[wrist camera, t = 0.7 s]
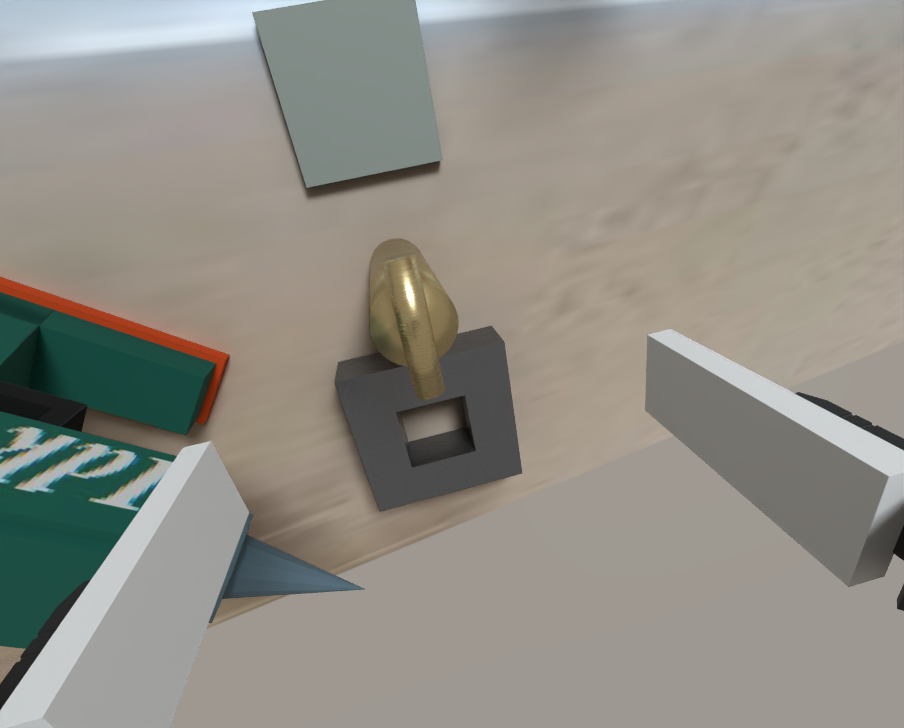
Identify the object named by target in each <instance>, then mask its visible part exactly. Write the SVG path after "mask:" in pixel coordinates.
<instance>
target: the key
mask: <svg viewBox="0 0 904 728" xmlns="http://www.w3.org/2000/svg"><path fill="white" fill-rule="evenodd" d="M369 329H370V335H371V338H372V341H373V343H374V345H375V347H376V348H377V350H378V351H379V352H380V353H381V354H382V355H383V356H384V357H385V358H387V359H388V360H390V361H391V362H394V363H396V364H399V365H402V366H408V369H409V373H410V377H411V381H412V385H413V389H414V393H415V396H416V397H417V398H418V399H422V400H428V399H433V398H436V397H438V396H440V395H442V394H443V393H444V391H445V385H444V380H443V376H442V371H441V367H440V362H439V358H441V357H442V356H443V355H444V354H445V353H446V352H447V351H448V350H449V349H450V348H451V346H452V344H453V343H454V341H455V338H456V335H457V331H458V316H457V312H456V309H455V306H454V305H453V303H452V301H451V300H450V298H449V296H448V295H447V293H446V292H445V290H444V288H443V287H442V285H441V284H440V282H439V281H438V279H437V277H436V276H435V274H434V273H433V271H432V270H431V268H430V266H429V265H428V263H427V262H426V260H425V259H424V257H423V255H422V254H421V252H420V251H419V249H418V248H417V247H416V246H415V245H414V244H412V243H411V242H409V241H407V240H404V239H390V240H387V241H385V242H383V243H381V244H380V245H379V246H378V247H377V248H376V249H375V251H374V252H373V254H372V257H371V261H370V309H369Z"/></svg>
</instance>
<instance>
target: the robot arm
mask: <svg viewBox="0 0 904 728" xmlns="http://www.w3.org/2000/svg"><path fill="white" fill-rule="evenodd" d="M645 410H646V411H647V412H648V413H649V414H650V415H651V416H652V417H654V418H655V419H656V420H657V421H658V422H659V423H660V424H662V425H663V426H664V427H665V428H666V429H667V430H669V431H670V432H671V433H672V434H673V435H674V436H675V437H677V438H678V439H679V440H680V441H681V442H682V443H684V444H685V445H686V446H687V447H688V448H689V449H691V450H692V451H693V452H694V453H695V454H696V455H697V456H698V457H700V458H701V459H702V460H703V461H704V462H705V463H706V464H708V465H709V466H710V467H711V468H712V469H713V470H715V471H716V472H717V473H718V474H719V475H720V476H721V477H723V478H724V479H725V480H726V481H727V482H728V483H729V484H731V485H732V486H733V487H734V488H735V489H736V490H738V491H739V492H740V493H741V494H742V495H743V496H744V497H746V498H747V499H748V500H749V501H750V502H751V503H753V504H754V505H755V506H756V507H757V508H758V509H759V510H761V511H762V512H763V513H764V514H765V515H766V516H768V517H769V518H770V519H771V520H772V521H773V522H774V523H776V524H777V525H778V526H779V527H780V528H782V530H784V531H785V532H786V533H787V534H788V535H790V536H791V537H792V538H793V539H794V540H795V541H796V542H797V543H799V544H800V545H801V546H802V547H803V548H804V549H805V550H807V551H808V552H809V553H810V554H811V555H812V556H813V557H815V558H816V559H817V560H818V561H819V562H820V563H822V564H823V565H824V566H825V567H826V568H827V569H828V570H830V571H831V572H832V573H833V574H834V575H835V576H837V577H838V578H839V579H840V580H841V581H842V582H843V583H845V584H846V585H847V586H848V587H850V586H854V585H857V584H860V583H864V582H867V581H870V580H874V579H877V578H880V577H883V576H885V573H886V571H887V569H888V566H889V564H890V562H891V559H892V557H893V554H896V555H897V556H898V557H899V558H901V559H902V560H904V439H903V438H901V437H899V436H897V435H895V434H893V433H891V432H889V431H887V430H885V429H883V428H881V427H879V426H873V425H872V423H871V422H869V421H867V420H865V419H863V418H861V417H859V416H857V415H855V416H853V415H852V413H851V412H849V411H847V410H845V409H843V408H841V407H839V406H837V405H835V404H833V403H831V402H829V401H827V400H824V399H820V398H817V397H813V396H810V395H806V394H803V393H800V392H798V393H792V392H790V391H789V390H787V389H785V388H783V387H781V386H779V385H777V384H775V383H773V382H771V381H769V380H767V379H766V378H764V377H762V376H760V375H758V374H756V373H754V372H752V371H750V370H748V369H746V368H744V367H743V366H741V365H739V364H737V363H735V362H733V361H731V360H729V359H727V358H725V357H723V356H721V355H720V354H718V353H716V352H714V351H712V350H710V349H708V348H706V347H704V346H702V345H700V344H698V343H696V342H695V341H693V340H691V339H689V338H687V337H685V336H683V335H681V334H679V333H677V332H675V331H673V330H672V329H669V330H665V331H661V332H657V333H653V334H649V335H647V366H646V400H645ZM248 514H249V511H248V509H247V507H246V505H245V504H244V502H243V500H242V498H241V496H240V494H239V492H238V491H237V489H236V487H235V485H234V483H233V481H232V479H231V477H230V476H229V474H228V472H227V470H226V468H225V466H224V464H223V463H222V461H221V459H220V457H219V455H218V453H217V451H216V449H215V448H214V446H213V444H212V442H211V441H209V442H205V443H201V444H196V445H192V446H188V447H184V448H183V449H182V450H181V452H180V453H179V454H178V456H177V457H176V459H175V460H174V462H173V463H172V464H171V466H170V467H169V469H168V470H167V472H166V473H165V475H164V476H163V477H162V479H161V480H160V482H159V483H158V485H157V486H156V487H155V489H154V490H153V492H152V493H151V495H150V496H149V498H148V499H147V500H146V502H145V503H144V505H143V506H142V508H141V509H140V510H139V512H138V513H137V515H136V516H135V518H134V519H133V520H132V522H131V523H130V525H129V526H128V528H127V529H126V531H125V532H124V533H123V535H122V536H121V538H120V539H119V541H118V542H117V543H116V545H115V546H114V548H113V549H112V551H111V552H110V553H109V555H108V556H107V558H106V559H105V561H104V562H103V564H102V565H101V566H100V568H99V569H98V571H97V572H96V574H95V575H94V576H93V578H92V579H91V580H87V581H84V582H83V583H81V584H80V585H79V586H78V587H77V588H76V589H75V590H74V591H73V592H72V593H71V594H70V595H69V596H68V597H67V598H66V599H65V600H64V601H63V602H61V603H60V604H59V605H58V606H57V607H56V609H55V610H54V612H53V613H52V614H51V616H50V617H49V618H48V620H47V621H46V622H45V624H44V625H43V627H42V628H41V629H40V631H39V632H38V633H37V634H38V637H37V638H36V639H33V640H32V642H31V643H30V644H29V646H28V647H27V648H26V650H25V651H24V652H23V654H22V655H21V660H20V662H17V663H15V665H14V666H13V667H12V669H11V670H10V672H9V673H8V674H7V676H6V677H5V678H4V680H3V681H2V683H1V684H0V728H170V726H171V723H172V721H173V718H174V715H175V712H176V710H177V707H178V704H179V702H180V698H181V696H182V694H183V691H184V688H185V685H186V682H187V680H188V677H189V675H190V672H191V669H192V666H193V664H194V661H195V658H196V655H197V653H198V650H199V647H200V645H201V642H202V639H203V636H204V633H205V631H206V628H207V626H208V623H209V620H210V617H211V615H212V612H213V609H214V607H215V604H216V601H217V598H218V596H219V593H220V590H221V588H222V585H223V582H224V579H225V577H226V574H227V571H228V569H229V566H230V563H231V560H232V558H233V555H234V552H235V550H236V547H237V544H238V541H239V539H240V536H241V533H242V531H243V528H244V525H245V522H246V520H247V517H248ZM897 609H900V610H903V611H904V585H903V587H902V589H901V591H900V594H899V596H898V598H897Z"/></svg>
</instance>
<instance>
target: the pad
mask: <svg viewBox="0 0 904 728" xmlns="http://www.w3.org/2000/svg"><path fill="white" fill-rule="evenodd" d="M252 13H253V17H254V20H255V23H256V26H257V29H258V33H259V36H260V39H261V42H262V46H263V49H264V52H265V55H266V59H267V62H268V65H269V68H270V71H271V75H272V78H273V81H274V84H275V88H276V91H277V94H278V97H279V100H280V104H281V107H282V110H283V113H284V117H285V120H286V123H287V126H288V130H289V133H290V136H291V139H292V142H293V146H294V149H295V152H296V155H297V159H298V162H299V165H300V168H301V171H302V175H303V178H304V181H305V184H306V188H308V187H313V186H318V185H323V184H328V183H333V182H338V181H343V180H348V179H352V178H357V177H362V176H367V175H372V174H377V173H382V172H387V171H392V170H397V169H402V168H407V167H412V166H417V165H422V164H427V163H432V162H436V161H441V160H443V159H442V153H441V148H440V142H439V136H438V130H437V124H436V118H435V113H434V107H433V101H432V95H431V89H430V84H429V78H428V72H427V66H426V60H425V55H424V49H423V43H422V37H421V31H420V25H419V20H418V14H417V8H416V2H415V0H324V1H318V2H312V3H306V4H300V5H294V6H288V7H282V8H276V9H270V10H264V11H258V12H252Z"/></svg>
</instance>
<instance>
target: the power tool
mask: <svg viewBox="0 0 904 728" xmlns="http://www.w3.org/2000/svg"><path fill="white" fill-rule="evenodd" d="M228 358H229V355H228V354H225V353H223V352H220V351H217V350H214V349H211V348H208V347H205V346H202V345H199V344H196V343H193V342H190V341H187V340H184V339H181V338H178V337H175V336H173V335H170V334H167V333H164V332H161V331H158V330H155V329H152V328H149V327H146V326H143V325H140V324H137V323H134V322H131V321H128V320H126V319H123V318H120V317H117V316H114V315H111V314H108V313H105V312H102V311H99V310H96V309H93V308H90V307H87V306H84V305H81V304H78V303H76V302H73V301H70V300H67V299H64V298H61V297H58V296H55V295H52V294H49V293H46V292H43V291H40V290H37V289H34V288H31V287H29V286H26V285H23V284H20V283H17V282H14V281H11V280H8V279H5V278H2V277H0V646H6V647H16V648H25V649H26V648H27V647H28V646H29V644H30V643H31V642H32V640H33V639H36V638H37V637H38V634H37V633H38V632H39V631H40V629H41V628H42V627H43V625H44V624H45V622H46V621H47V620H48V618H49V617H50V616H51V614H52V613H53V612H54V610H55V609H56V607H57V606H58V605H59V604H60V603H61V602H63V601H64V600H65V599H66V598H67V597H68V596H69V595H70V594H71V593H72V592H73V591H74V590H75V589H76V588H77V587H78V586H79V585H80V584H81V583H83V582H84V581H87V580H91V579H92V578H93V576H94V575H95V574H96V572H97V571H98V569H99V568H100V566H101V565H102V564H103V562H104V561H105V559H106V558H107V556H108V555H109V553H110V552H111V551H112V549H113V548H114V546H115V545H116V543H117V542H118V541H119V539H120V538H121V536H122V535H123V533H124V532H125V531H126V529H127V528H128V526H129V525H130V523H131V522H132V520H133V519H134V518H135V516H136V515H137V513H138V512H139V510H140V509H141V508H142V506H143V505H144V503H145V502H146V500H147V499H148V498H149V496H150V495H151V493H152V492H153V490H154V489H155V487H156V486H157V485H158V483H159V482H160V480H161V479H162V477H163V476H164V475H165V473H166V472H167V470H168V469H169V467H170V466H171V464H172V463H173V462H174V460H175V459H176V457H177V456H174V455H170V454H166V453H162V452H158V451H154V450H150V449H146V448H142V447H138V446H134V445H131V444H127V443H123V442H119V441H115V440H111V439H107V438H103V437H99V436H95V435H91V434H87V433H83V432H81V431H82V426H83V422H84V418H85V414H86V409H87V408H88V409H91V410H95V411H99V412H103V413H106V414H110V415H114V416H117V417H121V418H125V419H128V420H132V421H136V422H139V423H143V424H147V425H150V426H154V427H158V428H162V429H165V430H169V431H173V432H176V433H180V434H184V435H186V434H187V433H188V431H189V430H190V429H191V427H192V426H193V424H194V423H195V422H197V423H201V424H204V423H205V422H206V420H207V419H208V417H209V414H210V411H211V408H212V405H213V402H214V399H215V396H216V393H217V390H218V387H219V385H220V382H221V379H222V376H223V373H224V370H225V367H226V364H227V361H228ZM252 516H253V515H251V514H248V517H247V520H246V522H245V525H244V528H243V531H242V533H241V536H240V539H239V541H238V544H237V547H236V550H235V552H234V555H233V558H232V560H231V563H230V566H229V569H228V571H227V574H226V577H225V579H224V582H223V585H222V588H221V590H220V593H219V596H218V598H217V601H216V604H215V607H214V609H213V612H212V615H211V617H210V620H209V623H212V621H213V619H214V616H215V614H216V612H217V610H218V607H219V605H220V602H221V600H222V599H226V598H241V597H257V596H272V595H287V594H301V593H317V592H331V591H347V590H362V589H363V588H361V587H359V586H357V585H355V584H353V583H351V582H348V581H346V580H344V579H342V578H340V577H337V576H335V575H333V574H331V573H329V572H326V571H324V570H322V569H320V568H318V567H316V566H313V565H311V564H309V563H307V562H305V561H302V560H300V559H298V558H296V557H294V556H291V555H289V554H287V553H285V552H283V551H281V550H278V549H276V548H274V547H272V546H270V545H267V544H265V543H263V542H261V541H259V540H256V539H254V538H252V537H250V536H248V535H246V534H247V531H248V528H249V525H250V522H251V519H252Z"/></svg>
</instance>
